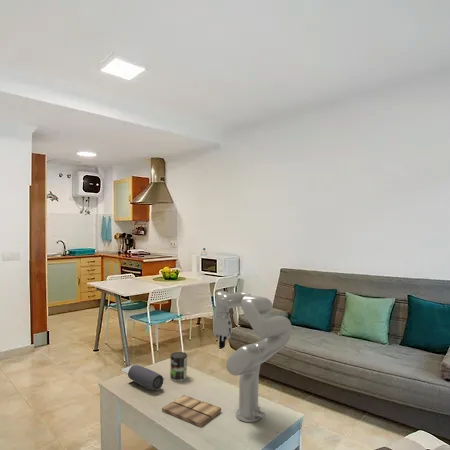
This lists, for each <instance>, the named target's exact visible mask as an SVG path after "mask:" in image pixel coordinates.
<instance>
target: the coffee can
mask: <svg viewBox="0 0 450 450" xmlns="http://www.w3.org/2000/svg"><path fill="white" fill-rule="evenodd" d="M187 366H188V354H187V352H183V351H176V352H172V353H171V354H170V371H169V372H170V373H169V374H170V376H169V378H170V380H171V381H174V382H181V381H185V380H186V379H187V377H188V375H187V374H188V373H187V372H188V367H187Z"/></svg>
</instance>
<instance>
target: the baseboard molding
mask: <svg viewBox="0 0 450 450" xmlns="http://www.w3.org/2000/svg"><path fill="white" fill-rule="evenodd" d="M133 365H136V364H135V363H132V364H131V365H129V364H126V366H123V367H121V369H120V372H122V373H124V374H126V375H128V374H127V373H128V372H129V369H130V368H131V366H133ZM162 377H163V381H164V380H165V377H164V376H162Z"/></svg>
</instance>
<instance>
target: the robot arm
mask: <svg viewBox="0 0 450 450" xmlns="http://www.w3.org/2000/svg"><path fill="white" fill-rule="evenodd" d="M239 307H240V308H241V310H242V312H243V314H244V318H245V319H246V320H247V322H248V323H249V325H250V327H251V329H252V330H253V331H254V333H255V335H256V336H258V337H259V339H260V338H261V340H259V341H257V342H253V343H249V344H246V345H242V346H240V347H239V348H238V349H236V350H235V351H234V352H233V353H232V354H230V356H229V357H228V358H227V361H226V368H227V372H228V373H229V374H230V375H232V376H235V377H236V376H239V381H238V383H239V385H238V386H239V387H238V389H239V390H238V403H239V404H238V409H237V410H236V411H235V416H236V418H237V419H238V420H239V421H241V422H243V423H254V422H257V421H259V420H261V419H265V417H266V415H265V414H266V413H265V411H261V406H259V380H260V379H259V378H260V377H259V376H260V370H261V365H262V364H263V363H265V362H266V361H267V360H269V359H270V358H271V357H273V356H274V355H275V354H277V353H278V352H279V351H280V350H282V349H283V348H284V347H285V346H286V345H287V344H288V343H289V341H290V339H291V336H292V331H293V328H292V327H293V326H292V323H291V320H290V319H289V318H288V317H285V316H284V315H275V316H269V317H263V316H267V315H268V314H269V315H270V313H271V312H272V311H273V308H274V307H273V303H272V301H271V300H270V299H269V298H268V297H262V296H257V295H251V294H250V293H247V292H231V293H229V292H228V291H224V290H222V291H221V290H220V291H217V292H215V315H214V318H213V324H212V325H213V326H212V333H213V336H215V337H216V338H217V340H218V348H219V349H224V348H225V346H226V341H227V339H231V338H232V337H231V335H232V334H233V324H232V319H231V315H232V314H231V313H230V309H234V308H239Z"/></svg>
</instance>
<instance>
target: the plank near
mask: <svg viewBox="0 0 450 450" xmlns="http://www.w3.org/2000/svg"><path fill="white" fill-rule="evenodd" d="M192 410H193V411H196V412H199V413H201V414H204V415H206V416H209V417H211V420H212V419H214V418H215V417H217V415H218V414H219V413H221V412H222V407H220V406H217V405H214V404H211V403H209V402H206V401H204V400H201V403H199V404H198V405H197V406H195V407H194V408H193V409H192Z"/></svg>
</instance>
